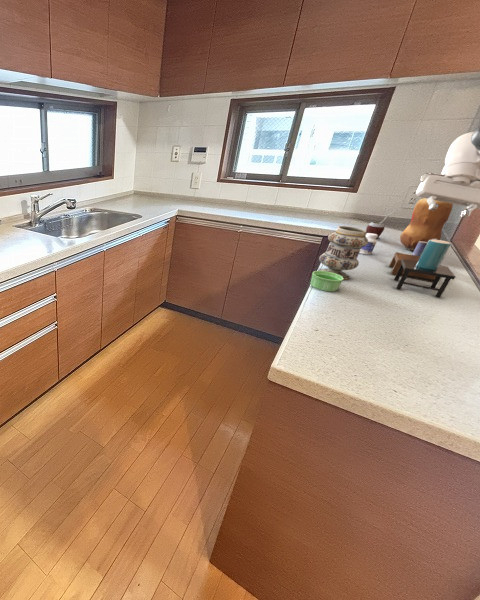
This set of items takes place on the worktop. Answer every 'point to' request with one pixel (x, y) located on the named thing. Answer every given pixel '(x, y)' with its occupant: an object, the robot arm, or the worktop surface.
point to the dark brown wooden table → (411, 267)
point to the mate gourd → (376, 227)
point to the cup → (433, 254)
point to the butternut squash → (425, 223)
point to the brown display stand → (396, 265)
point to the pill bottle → (369, 244)
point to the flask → (420, 248)
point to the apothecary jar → (343, 250)
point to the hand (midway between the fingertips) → (448, 212)
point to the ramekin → (326, 280)
